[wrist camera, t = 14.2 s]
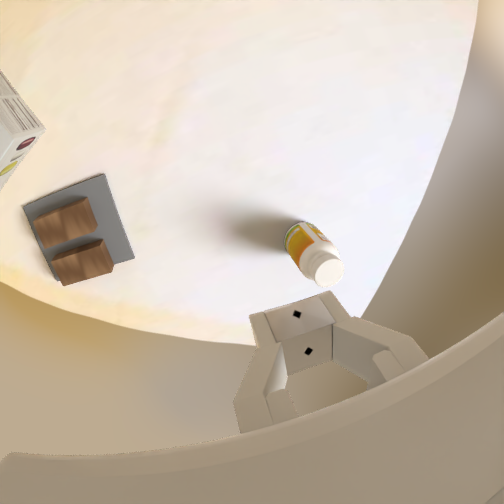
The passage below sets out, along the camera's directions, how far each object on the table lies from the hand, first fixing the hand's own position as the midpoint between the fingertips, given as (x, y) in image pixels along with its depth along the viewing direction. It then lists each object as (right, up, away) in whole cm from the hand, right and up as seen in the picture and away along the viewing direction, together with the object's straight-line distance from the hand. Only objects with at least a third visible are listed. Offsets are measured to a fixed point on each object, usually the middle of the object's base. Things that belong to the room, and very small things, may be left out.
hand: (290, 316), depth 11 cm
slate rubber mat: (-24, +5, +25) cm, 35 cm away
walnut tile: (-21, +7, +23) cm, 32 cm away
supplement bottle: (+6, +4, +33) cm, 34 cm away
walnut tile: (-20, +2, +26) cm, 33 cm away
